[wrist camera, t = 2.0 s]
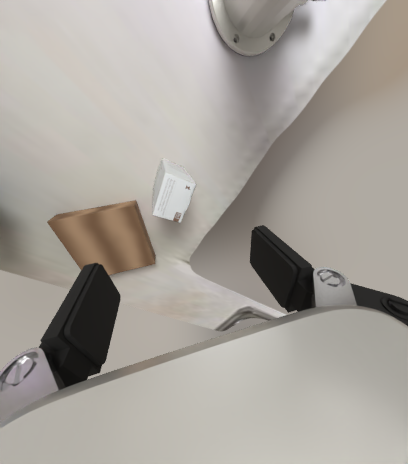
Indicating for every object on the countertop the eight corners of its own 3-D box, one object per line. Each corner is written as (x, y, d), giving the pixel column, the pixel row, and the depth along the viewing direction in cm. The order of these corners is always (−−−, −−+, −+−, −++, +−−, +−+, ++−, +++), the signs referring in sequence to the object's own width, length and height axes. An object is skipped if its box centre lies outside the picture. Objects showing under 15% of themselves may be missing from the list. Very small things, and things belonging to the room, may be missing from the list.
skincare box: (161, 157, 28) (162, 168, 18) (185, 167, 30) (198, 182, 20) (152, 189, 31) (148, 215, 21) (174, 197, 33) (181, 224, 22)
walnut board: (136, 200, 31) (134, 206, 29) (155, 255, 38) (155, 263, 36) (56, 214, 29) (47, 221, 27) (93, 269, 36) (88, 279, 34)
